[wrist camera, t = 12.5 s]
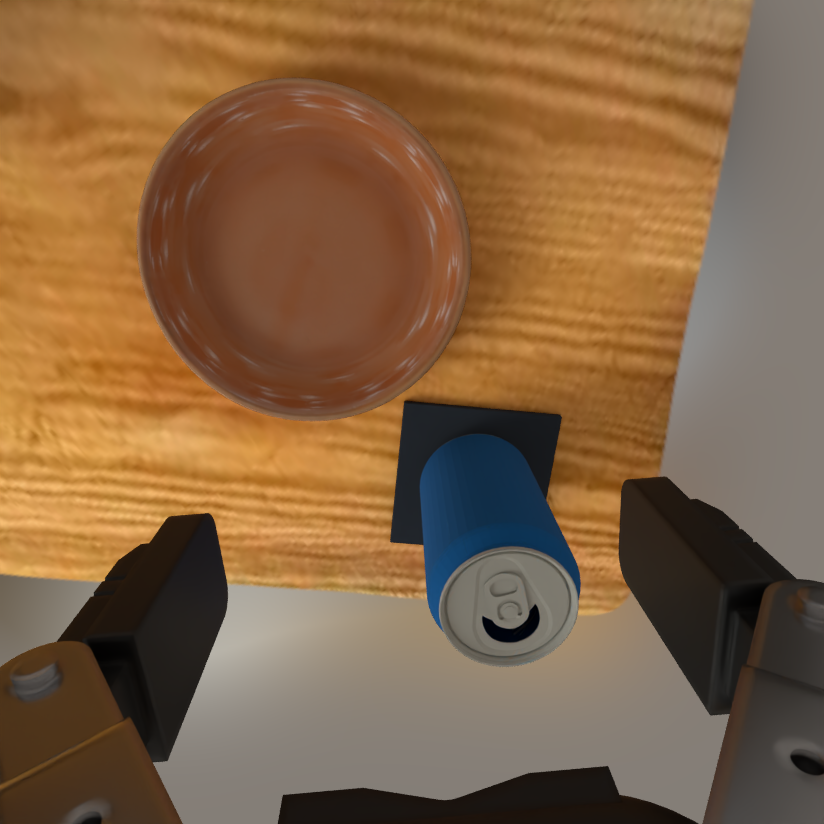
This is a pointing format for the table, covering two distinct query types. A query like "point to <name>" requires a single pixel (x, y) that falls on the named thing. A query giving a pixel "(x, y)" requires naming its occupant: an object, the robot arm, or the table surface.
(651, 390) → the table surface
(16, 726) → the robot arm
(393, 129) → the saucer
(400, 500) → the coaster
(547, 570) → the beverage can
